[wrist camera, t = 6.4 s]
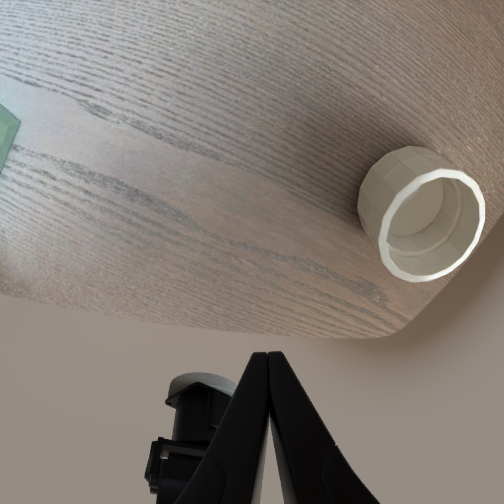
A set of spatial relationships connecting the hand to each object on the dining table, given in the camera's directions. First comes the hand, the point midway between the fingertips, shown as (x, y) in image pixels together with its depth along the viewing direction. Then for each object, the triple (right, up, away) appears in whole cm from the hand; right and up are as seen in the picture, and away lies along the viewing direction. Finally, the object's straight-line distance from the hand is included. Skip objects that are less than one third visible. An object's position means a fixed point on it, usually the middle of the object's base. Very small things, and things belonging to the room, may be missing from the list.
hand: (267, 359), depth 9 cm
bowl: (+9, +7, +10) cm, 15 cm away
